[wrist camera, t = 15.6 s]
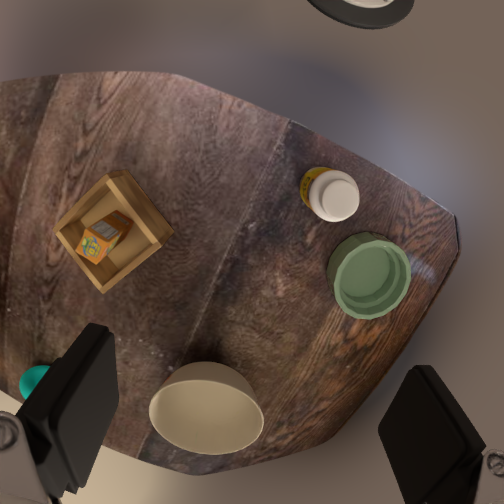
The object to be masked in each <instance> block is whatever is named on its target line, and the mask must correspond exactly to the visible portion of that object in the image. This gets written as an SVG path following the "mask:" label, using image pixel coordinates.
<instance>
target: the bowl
mask: <svg viewBox="0 0 504 504" xmlns="http://www.w3.org/2000/svg"><path fill="white" fill-rule="evenodd" d="M149 416H150V420H151V422H152V424H153V426H154V427H155V429H156V430H157V431H158V432H159V434H160V435H161V436H163V437H164V438H165V439H166V440H168V441H169V442H171V443H172V444H174V445H176V446H178V447H180V448H183V449H185V450H188V451H192V452H196V453H201V454H226V453H231V452H235V451H238V450H241V449H243V448H245V447H247V446H248V445H250V444H251V443H253V442H254V441H255V440H256V439H257V438H258V436H259V435H260V433H261V431H262V429H263V424H264V419H263V414H262V411H261V408H260V406H259V403H258V401H257V398H256V396H255V393H254V391H253V389H252V388H251V386H250V384H249V383H248V382H247V380H246V379H245V378H244V377H243V376H242V375H241V374H240V373H238V372H237V371H235V370H234V369H232V368H230V367H228V366H226V365H223V364H220V363H216V362H195V363H191V364H187V365H185V366H183V367H181V368H179V369H177V370H176V371H174V372H173V373H172V374H171V375H170V376H169V377H168V378H167V379H166V380H165V382H164V383H163V384H162V385H161V387H160V388H159V389H158V391H157V392H156V393H155V395H154V396H153V398H152V400H151V402H150V405H149Z"/></svg>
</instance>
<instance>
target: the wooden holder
mask: <svg viewBox="0 0 504 504" xmlns="http://www.w3.org/2000/svg"><path fill="white" fill-rule="evenodd" d="M115 210H117V211H119V212H120V213H122V214H123V215H124V216H126V217H127V218H129V219H130V220H132V221H133V222H134V223H133V225H132V227H131V229H130V231H129V233H128V234H127V236H126V238H125V239H124V240H123V241H122V242H121V243H120V244H119V245H117V246H116V247H115V248H114V249H113V250H112V251H111V252H110V253H109V254H107V255H106V256H105V257H104V258H103V259H102V260H101V261H100V262H99V263H98V264H97V265H96V264H94V263H93V262H91V261H90V260H88V259H87V258H85V257H84V256H82V255H80V254H78V253H77V252H75V250H76V248H77V246H78V244H79V242H80V240H81V238H82V236H83V234H84V231H85V229H86V228H87V227H89V226H90V225H92V224H94V223H95V222H97V221H98V220H100V219H102V218H103V217H105V216H106V215H108V214H110V213H112V212H113V211H115ZM53 231H54V232H55V234H56V235H57V237H58V238H59V239H60V241H61V242H62V243H63V245H64V246H65V248H66V249H67V250H68V252H69V253H70V254H71V256H72V257H73V258H74V259H75V261H76V262H77V263H78V265H79V266H80V267H81V268H82V270H83V271H84V272H85V273H86V275H87V276H88V277H89V278H90V280H91V281H92V282H93V283H94V285H95V286H96V287H97V288H98V289H99V290H100V292H101V293H102V294H104V293H105V292H106V291H108V290H109V289H110V288H111V287H112V286H114V285H115V284H116V283H117V282H118V281H120V280H121V279H122V278H123V277H125V276H126V275H127V274H128V273H129V272H131V271H132V270H133V269H134V268H136V267H137V266H138V265H139V264H140V263H142V262H143V261H144V260H145V259H147V258H148V257H149V256H150V255H152V254H153V253H154V252H155V251H157V250H158V249H159V248H161V247H162V246H163V245H164V243H165V242H166V241H167V240H168V239H169V237H170V236H171V235H172V234H173V233H174V230H173V229H172V228H171V226H170V225H169V224H168V223H167V221H166V220H165V219H164V217H163V216H162V215H161V214H160V212H159V211H158V210H157V208H156V207H155V206H154V205H153V203H152V202H151V201H150V199H149V198H148V197H147V195H146V194H145V193H144V191H143V190H142V189H141V188H140V186H139V185H138V184H137V182H136V181H135V180H134V178H133V177H132V176H131V174H130V173H129V172H128V170H127V169H126V170H121V171H115V172H110V173H106V174H105V175H104V176H103V177H102V178H101V179H100V180H99V181H98V182H97V183H96V184H95V185H94V186H93V187H92V188H91V189H90V190H89V191H88V192H87V193H86V194H85V195H84V196H83V197H82V198H81V199H80V200H79V201H78V202H77V203H76V204H75V205H74V206H73V207H72V208H71V209H70V210H69V211H68V212H67V213H66V214H65V215H64V217H63V218H62V219H61V220H60V221H59V222H58V223H57V224H56V225H55V226H54V228H53Z"/></svg>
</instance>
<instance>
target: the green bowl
mask: <svg viewBox="0 0 504 504" xmlns="http://www.w3.org/2000/svg"><path fill="white" fill-rule="evenodd" d="M326 275H327V281H328V287H329V289H330V290H331V292H332V294H333V296H334V297H335V299H336V301H337V302H338V304H339V305H340V307H341V308H342V310H343V311H344V312H346V313H347V314H349V315H351V316H353V317H354V318H360V319H373V318H376V317H380V316H383V315H385V314H386V313H388V312H389V311H391V310H392V309H394V308H395V307H396V306H397V305H398V304H399V303H400V301H401V300H402V299H403V297H404V296H405V295H406V293H407V290H408V286H409V283H410V280H411V270H410V262H409V260H408V258H407V256H406V254H405V252H404V251H403V250H402V249H401V248H399V247H398V246H397V245H395V244H394V243H393V242H391V241H390V240H388V239H387V238H385V237H384V236H382V235H381V234H376V233H371V232H364V233H359V234H355V235H352V236H350V237H349V238H347V239H346V240H345V241H343V242H342V243H340V244H339V245H338V247H337V248H336V249H335V251H334V252H333V254H332V255H331V257H330V259H329V263H328V268H327V272H326Z"/></svg>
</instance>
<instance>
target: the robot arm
mask: <svg viewBox="0 0 504 504" xmlns="http://www.w3.org/2000/svg"><path fill="white" fill-rule="evenodd" d="M344 1H346V2H348V3H350V4H353V5H356V6H360V7H365V8H379V7H383V6H386V5H388V4H390V3H391V2H392V1H393V0H344ZM118 402H119V392H118V382H117V371H116V358H115V341H114V334H113V333H111V332H109V329H108V327H107V326H103V325H99V324H95V323H89V324H88V325H87V326H86V327H85V328H84V330H83V331H82V332H81V334H80V335H79V336H78V337H77V339H76V340H75V341H74V343H73V344H72V345H71V346H70V348H69V349H68V350H67V352H66V353H65V354H64V356H63V357H62V358H61V357H60V358H57V359H56V360H55V361H54V362H53V364H52V365H51V366H50V368H49V369H48V370H47V372H46V373H45V374H44V376H43V377H42V378H41V380H40V381H39V382H38V384H37V385H36V386H35V388H34V389H33V391H32V392H31V393H30V395H29V396H28V398H27V399H26V400H25V402H24V403H23V405H22V406H21V408H20V409H19V410H18V412H17V413H16V415H13V414H11V413H9V412H5V411H0V504H62V503H61V500H60V497H62V496H63V493H64V491H65V490H66V491H68V492H71V493H74V494H76V493H77V490H78V488H79V487H81V488H83V487H84V486H85V485H86V483H87V480H88V477H89V475H90V472H91V470H92V467H93V464H94V462H95V460H96V457H97V454H98V452H99V449H100V447H101V445H102V442H103V440H104V437H105V435H106V433H107V430H108V428H109V425H110V423H111V421H112V418H113V416H114V414H115V411H116V409H117V406H118ZM378 433H379V436H380V439H381V441H382V443H383V446H384V449H385V451H386V454H387V456H388V459H389V461H390V464H391V467H392V469H393V472H394V475H395V477H396V480H397V483H398V485H399V488H400V491H401V493H402V496H403V499H404V501H405V504H504V452H503V451H501V450H497V449H492V450H489V451H487V452H486V454H485V455H484V456H483V455H482V453H481V452H482V451H483V450H484V449H485V447H486V444H485V443H484V441H483V440H482V438H481V437H480V435H479V434H478V432H477V431H476V429H475V427H474V426H473V425H472V423H471V422H470V420H469V418H468V417H467V416H466V414H465V413H464V411H463V410H462V408H461V407H460V405H459V404H458V402H457V401H456V399H454V396H453V395H452V394H451V392H450V391H449V389H448V388H447V387H446V385H445V384H444V382H443V381H442V380H441V378H440V377H439V375H438V374H437V373H436V371H435V370H434V368H433V367H432V366H430V365H416V366H414V367H413V368H412V369H411V370H409V371H408V373H407V374H406V376H405V378H404V381H403V382H402V384H401V386H400V388H399V390H398V392H397V394H396V396H395V397H394V399H393V401H392V403H391V405H390V406H389V408H388V410H387V412H386V413H385V415H384V417H383V419H382V420H381V422H380V424H379V427H378Z"/></svg>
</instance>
